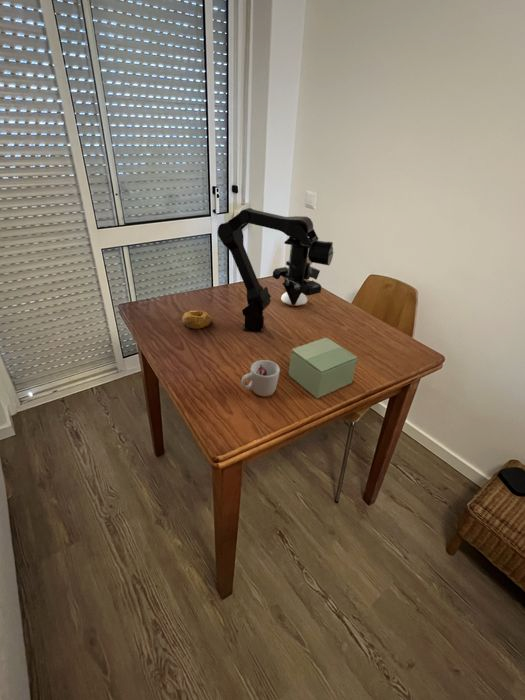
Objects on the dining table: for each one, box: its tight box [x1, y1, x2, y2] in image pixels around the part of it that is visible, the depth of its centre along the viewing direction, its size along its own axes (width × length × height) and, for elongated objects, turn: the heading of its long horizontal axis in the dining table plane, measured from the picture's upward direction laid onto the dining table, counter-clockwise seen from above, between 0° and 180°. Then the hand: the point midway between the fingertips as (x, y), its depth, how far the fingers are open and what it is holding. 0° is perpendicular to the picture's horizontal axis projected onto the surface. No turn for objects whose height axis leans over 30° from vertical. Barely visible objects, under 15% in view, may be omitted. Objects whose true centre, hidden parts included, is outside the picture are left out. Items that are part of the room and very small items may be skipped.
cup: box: [240, 359, 281, 397], centre depth 97 cm, size 11×8×8 cm
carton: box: [288, 346, 358, 399], centre depth 104 cm, size 13×14×9 cm
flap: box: [291, 336, 342, 361], centre depth 103 cm, size 6×14×1 cm, turn 125°
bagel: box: [181, 310, 213, 330], centre depth 130 cm, size 10×11×5 cm
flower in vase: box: [280, 250, 313, 307], centre depth 145 cm, size 13×11×25 cm
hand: (293, 304), depth 119 cm, fingers closed
